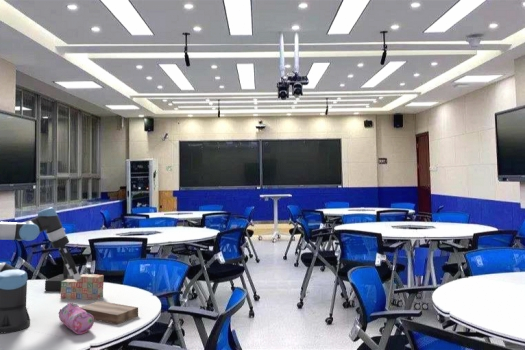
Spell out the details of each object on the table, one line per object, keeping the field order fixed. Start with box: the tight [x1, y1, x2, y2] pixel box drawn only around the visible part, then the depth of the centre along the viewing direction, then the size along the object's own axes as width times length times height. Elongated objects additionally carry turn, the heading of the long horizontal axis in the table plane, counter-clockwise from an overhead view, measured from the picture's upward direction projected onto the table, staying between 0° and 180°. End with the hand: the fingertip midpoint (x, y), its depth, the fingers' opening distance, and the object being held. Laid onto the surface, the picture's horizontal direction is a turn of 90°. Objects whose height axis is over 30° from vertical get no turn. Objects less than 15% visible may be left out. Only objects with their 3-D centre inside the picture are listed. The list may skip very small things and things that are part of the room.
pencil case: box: [58, 302, 95, 335], centre depth 168 cm, size 21×9×9 cm, turn 40°
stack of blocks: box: [60, 273, 105, 301], centre depth 216 cm, size 21×6×12 cm, turn 84°
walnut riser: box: [79, 300, 139, 325], centre depth 184 cm, size 13×25×4 cm, turn 65°
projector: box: [44, 262, 83, 292], centre depth 239 cm, size 19×17×20 cm
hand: (75, 277), depth 194 cm, fingers open, 13 cm apart
